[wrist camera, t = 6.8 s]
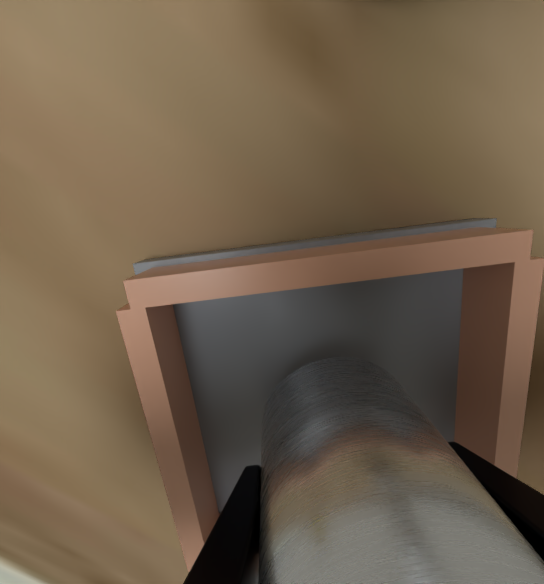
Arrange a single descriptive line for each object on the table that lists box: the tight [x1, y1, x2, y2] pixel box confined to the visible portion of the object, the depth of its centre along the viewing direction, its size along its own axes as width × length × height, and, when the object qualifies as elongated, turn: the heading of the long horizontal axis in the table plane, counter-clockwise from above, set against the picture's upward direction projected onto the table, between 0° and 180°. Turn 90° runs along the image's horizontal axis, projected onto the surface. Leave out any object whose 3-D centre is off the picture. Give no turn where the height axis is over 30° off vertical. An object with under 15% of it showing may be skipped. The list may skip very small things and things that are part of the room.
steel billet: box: [258, 357, 544, 584], centre depth 6 cm, size 5×5×7 cm
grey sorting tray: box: [116, 218, 544, 572], centre depth 12 cm, size 24×12×3 cm, turn 7°
